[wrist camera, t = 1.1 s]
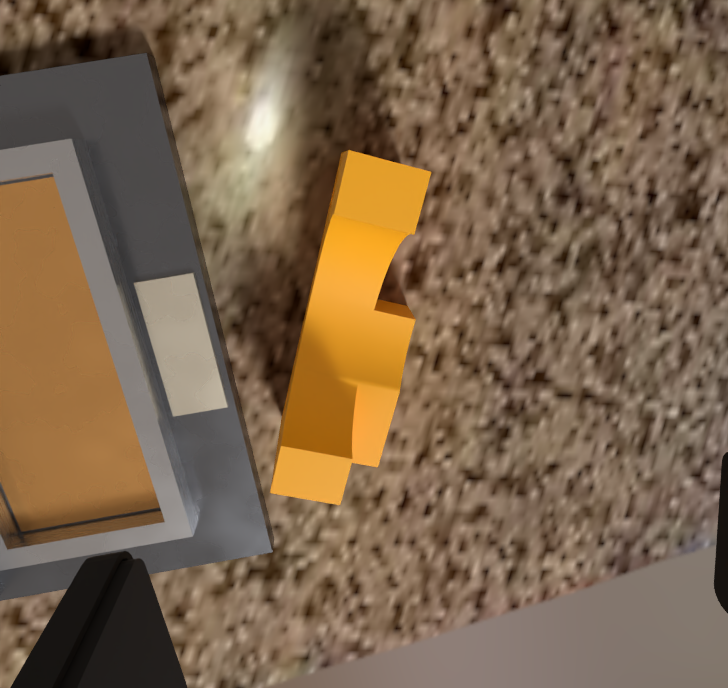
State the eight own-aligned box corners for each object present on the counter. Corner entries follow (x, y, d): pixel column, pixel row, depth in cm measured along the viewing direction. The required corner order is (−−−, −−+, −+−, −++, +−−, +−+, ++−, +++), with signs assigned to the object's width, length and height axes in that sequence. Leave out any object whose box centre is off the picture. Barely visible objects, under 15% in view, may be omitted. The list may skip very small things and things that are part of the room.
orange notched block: (371, 432, 27) (386, 512, 21) (282, 414, 26) (270, 493, 20) (442, 179, 23) (485, 186, 17) (341, 152, 23) (348, 150, 16)
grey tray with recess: (154, 57, 21) (98, 23, 16) (274, 538, 28) (263, 625, 23) (-249, 121, 20) (-444, 108, 15) (-25, 591, 28) (-105, 692, 22)
